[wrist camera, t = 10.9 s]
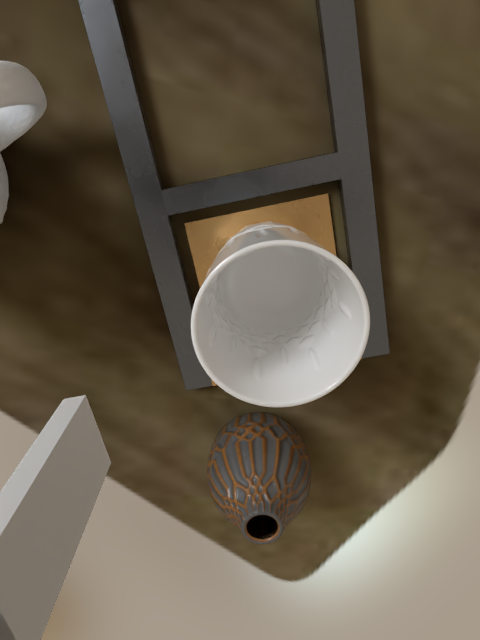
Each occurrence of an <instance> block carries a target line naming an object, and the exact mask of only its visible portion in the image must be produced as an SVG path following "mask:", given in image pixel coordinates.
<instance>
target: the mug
mask: <svg viewBox="0 0 480 640" xmlns="http://www.w3.org/2000/svg"><path fill="white" fill-rule="evenodd" d="M46 107H47V101H46V97H45V93H44V91H43V89H42V87H41V85H40V83H39V81H38V80H37V79H36V77H35V76H34V75H33V74H32V73H31V72H30V71H29V70H28V69H27V68H25V67H24V66H22V65H20V64H18V63H14V62H9V61H0V152H1V151H2V150H3V149H5V148H6V147H8V146H9V145H10V144H11V143H12V142H14V141H15V140H16V139H18V138H19V137H21V136H22V135H23V134H25V133H26V132H27V131H28V130H29V129H30V128H31V127H32V126H33V125H34V124H35V123H36V122H37V121H38V120H39V119H40V118H41V116H42V115H43V114H44V112H45V110H46ZM8 198H9V185H8V176H7V171H6V167H5V164H4V161H3V158H2V156H1V154H0V224H1V223H2V222H3V217H4V214H5V212H6V210H7V202H8Z"/></svg>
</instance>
